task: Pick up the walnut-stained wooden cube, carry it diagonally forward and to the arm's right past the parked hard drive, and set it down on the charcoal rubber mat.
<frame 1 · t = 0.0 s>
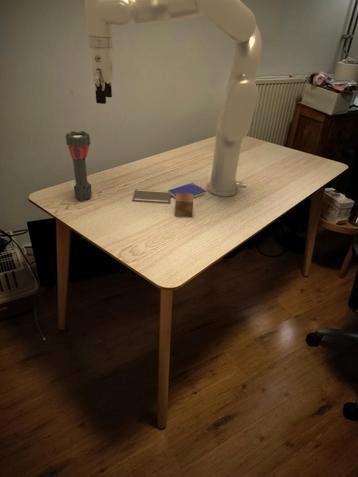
hand: (104, 100, 114), 31 cm above the table, fingers open, 9 cm apart
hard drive: (186, 194, 128), on the table, touching mat
cube: (183, 212, 116), on the table
mat: (152, 196, 124), on the table
flashlight: (84, 196, 122), on the table
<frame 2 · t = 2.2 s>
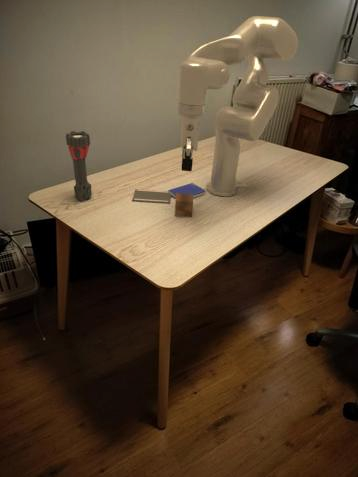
hand: (186, 164, 106), 18 cm above the table, fingers open, 9 cm apart
nothing on the table moved.
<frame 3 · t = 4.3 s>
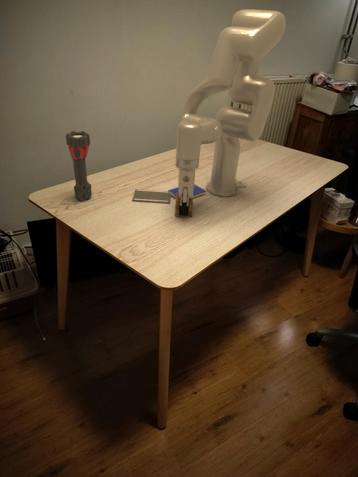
hand: (183, 209, 116), 1 cm above the table, fingers closed on cube, 6 cm apart
cube: (183, 212, 116), on the table, touching gripper
everything else where it was.
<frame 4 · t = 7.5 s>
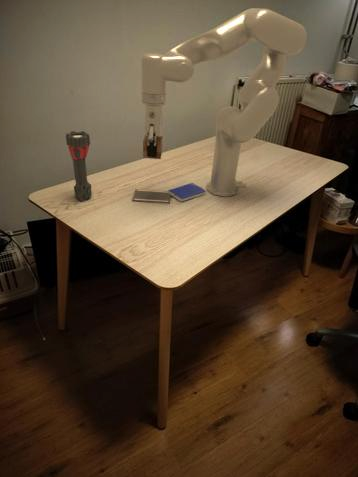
hand: (152, 152, 114), 17 cm above the table, fingers closed on cube, 6 cm apart
cube: (152, 155, 115), point 16 cm above the table, touching gripper
everything else where it was.
when the fingers open (3 cm above the table, at t = 10.6 s): cube drops 1 cm, resting on mat.
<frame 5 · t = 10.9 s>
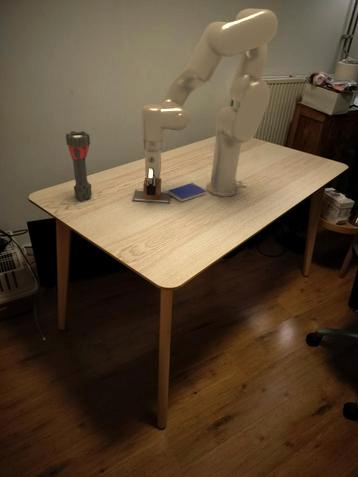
hand: (152, 189, 122), 3 cm above the table, fingers open, 9 cm apart
cube: (152, 195, 124), resting on mat
everything else where it was.
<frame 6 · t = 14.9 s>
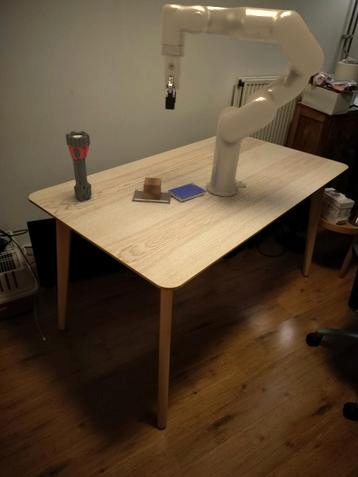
hand: (170, 105, 117), 30 cm above the table, fingers open, 9 cm apart
nothing on the table moved.
at the end: cube inside the target area on the mat (0.1 cm from its centre), point 0.4 cm above the mat's base; cube tilted 0°; the gripper is holding nothing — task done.
